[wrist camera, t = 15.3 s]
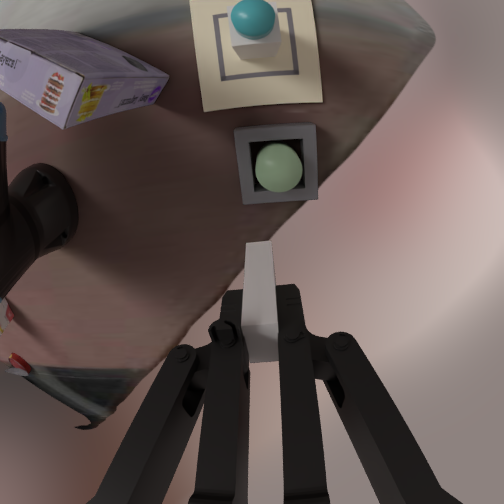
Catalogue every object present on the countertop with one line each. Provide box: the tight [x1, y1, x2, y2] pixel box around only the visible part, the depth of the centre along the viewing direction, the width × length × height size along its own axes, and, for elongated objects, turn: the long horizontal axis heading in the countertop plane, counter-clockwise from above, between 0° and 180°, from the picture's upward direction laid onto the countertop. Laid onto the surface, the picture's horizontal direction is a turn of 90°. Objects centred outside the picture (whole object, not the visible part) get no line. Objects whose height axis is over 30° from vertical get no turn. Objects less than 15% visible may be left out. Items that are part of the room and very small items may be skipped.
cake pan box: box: [0, 29, 170, 130], centre depth 19 cm, size 19×5×18 cm, turn 54°
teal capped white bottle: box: [227, 0, 282, 60], centre depth 20 cm, size 4×4×12 cm
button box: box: [234, 122, 318, 205], centre depth 32 cm, size 9×9×3 cm
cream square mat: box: [190, 0, 323, 112], centre depth 25 cm, size 14×16×1 cm
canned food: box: [5, 353, 31, 376], centre depth 68 cm, size 11×10×10 cm
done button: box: [255, 141, 302, 192], centre depth 31 cm, size 5×5×4 cm
